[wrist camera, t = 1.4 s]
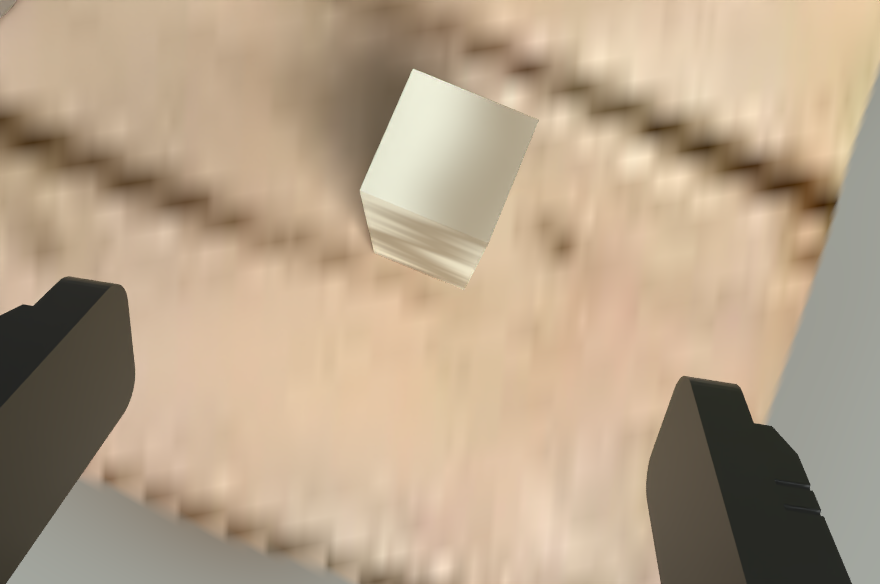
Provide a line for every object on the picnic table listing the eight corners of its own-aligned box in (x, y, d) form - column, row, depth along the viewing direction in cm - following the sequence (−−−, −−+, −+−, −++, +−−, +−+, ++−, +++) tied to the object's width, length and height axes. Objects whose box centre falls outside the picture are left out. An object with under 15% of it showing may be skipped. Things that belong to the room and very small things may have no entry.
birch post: (374, 253, 36) (359, 190, 25) (411, 166, 37) (413, 68, 26) (464, 290, 36) (488, 243, 25) (500, 202, 37) (539, 119, 26)
